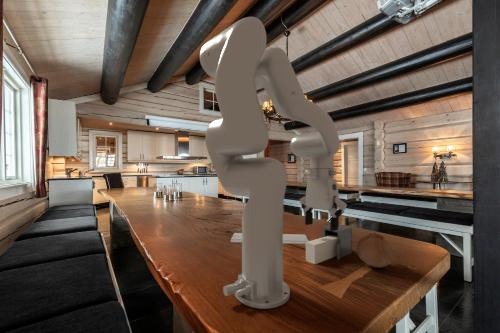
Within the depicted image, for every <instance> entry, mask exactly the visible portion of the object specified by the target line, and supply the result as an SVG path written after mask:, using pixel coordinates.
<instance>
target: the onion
mask: <svg viewBox="0 0 500 333" xmlns="http://www.w3.org/2000/svg"><path fill="white" fill-rule="evenodd" d="M356 253H357V255H358V257H359V259H360V261H363V263H365V264H366V265H368V266H369V267H371V268H376V269H377V268H379V269H382V268H383V267H385V268H386V267H387V266H388V265H389V264H390V263H391V262H392V261H393V257H394V251H393V247H392V245H391V243H390V242H389V241H388V240H387V239H386V238H385V236H383V235H380V234H379V233H376V232H372V233H369V234H367V235H365V236H363V237H361V238H360V239H359V240H358V242H357V245H356Z"/></svg>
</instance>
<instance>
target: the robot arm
mask: <svg viewBox="0 0 500 333" xmlns="http://www.w3.org/2000/svg"><path fill="white" fill-rule="evenodd" d="M266 47H267V31H266V29H265V25H264V24H263V22H262V21H261V19H259V18H258V17H254V16H247V17H243V18H241V19H239V20H237V21H235V22H234V23H232V24H231V25H229V26H228V27H227V28H225V29H224V30H222V31H221V32H220V33H218V34H217V35H215V36H213V37H212V38H211V39H209V40H208V41H206V42H205V44H203V45H202V47H201V48H200V52H199V62H200V65H201V67H202V70H204V72H205V73H206V74H207V75H208V76H209V77H211V78H212V79H214V90H215V91H214V92H215V97H216V101H217V103H218V104H217V105H218V107H219V112H220V115H221V117H220V118H217V119H214V120H213V121H211V123H210V124H209V125H208V127H207V128H206V131H205V137H204V138H205V146H206V149H207V152H208V155H209V158H210V160H211V161H210V162H211V163H212V166H213V168H214V172H215V173H216V176H217V178H218V181H219V184H220V186H221V187H222V188H223V190H224V191H225V192H227V193H228V194H230V195H232V196H238V197H247V198H248V200H247V202H246V204H245V206H244V208H243V211H242V216H241V233H242V243H241V273H240V274H238V275H237V280H235V281H234V283H230V284H227V285H224V286H223V287H222V292H223V295H224V296H226V297H229V296H230V295H233V294H234V296H235V298H236V299H237V300H238V301H239V302H240V303H241V304H243V305H245V306H247V307H250V308H254V309H260V310H263V309H264V310H266V309H269V310H270V309H274V308H279V307H281V306H283V305H284V304H285V303H287V302H288V301H289V300H290V296H291V289H290V286H289V285H288V284H287V283H286V282H284V244H283V234H284V230H283V229H284V224H283V222H284V221H283V218H284V216H283V215H284V202H285V194H286V191H287V190H286V189H287V184H288V173H287V168H286V167H285V165H284V164H283V163H282V162H281V161H280V160H278V159H276V158H273V157H267V156H266V157H265V156H264V157H263V156H258V157H249V158H248V157H247V158H244V157H243V156H249V155H250V156H251V155H257V154H259V153H262V152H264V151H265V150H266V149H267V147H268V145H269V138H270V137H269V132H268V128H267V125H266V121H265V118H264V114H263V109H262V107H261V104H260V100H259V96H258V93H257V92H258V90H261V89H264V91H265V92H266V94H267V96H268V98H269V100H270V102H271V103H272V105H273V107H274V109H275V112H276V113H277V115H279V116H280V117H283V118H284V119H285V118H286V119H289V120H293V121H297V122H300V123H304V124H305V125H309V126H310V127H312V128H313V129H315V130H316V131H313V132H306V133H300V134H297V135H295V136H294V137H293V138H292V139H291V141H290V144H289V148H290V151H291V153H292V154H293V155H295V156H296V157H298V158H302V159H303V158H305V159H306V158H309V178H308V179H307V183H306V189H305V195H304V196H303V197H301V198H299V203H300V204H301V205H300V206H301V208H302V210H303V213H304V224H305V225H307V226H308V225H313V224H314V223H313V222H314V221H313V220H314V218H313V217H314V214H313V212H312V211H313V210H314V209H315V210H322V211H327V212H328V213H329V214H330V215H331V217H330V218H329V225H330V230H331V231H334V230H338V227H339V225H340V222H339V221H340V220H339V219H340V217H341V216H342V214H344V213H345V210H346V208H347V206H348V204H347V203H346V202H344V201H343V200H342V199H340V198H339V197H340V196H339V186H338V182H337V179H336V178H334V177H335V176H337V171H336V170H335V168H334V166H335V165H334V161H335V160H334V159H335V158H334V157H335V156H334V155H336V154H337V153H338V151H339V150H340V146H341V145H340V142H341V141H340V137H339V133H338V131H337V127H336V125H335V124H334V120H333V119H332V117H331V116H330V114H328V112H326V110H324V109H323V108H322V107H321V106H319V105H318V104H316V103H314V102H313V101H310V100H309V99H308V98H307V97H306V95H305V94H304V92H303V89H302V87H301V84H300V82H299V79H298V77H297V74H296V72H295V70H294V68H293V66H292V65H293V64H292V63H291V60H290V59H289V57H288V55H287V53H286V51H285V50H284V49H282V48H281V47H275V46H274V47H270V48H267V49H266Z"/></svg>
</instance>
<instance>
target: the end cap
mask: <svg viewBox="0 0 500 333" xmlns="http://www.w3.org/2000/svg"><path fill="white" fill-rule="evenodd" d="M321 227H322V234H321V235H322V237H326V236H330V235H334V236H338V242H337V256H336V261H337V260H338V261H340V260H341V258H344V257H346V256H349V255H352V254H353V227H352V226H346V225H341V224H339V227H338V230H334V231H331V230H330V224H328V225H324V226H321ZM319 238H320V237H316V239H319Z"/></svg>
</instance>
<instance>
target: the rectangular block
mask: <svg viewBox="0 0 500 333" xmlns="http://www.w3.org/2000/svg"><path fill="white" fill-rule="evenodd" d="M318 238H319V239H317V238H316V239H313V240H309V241H308V242H306V244H305V262H307V263H309V264H310V263H311V264H313V265H316V264H319V263H322V262H324V261H328V260H330V259H332V258H335V257H337V242H338V236H334V235H330V236H326V237H323V236H322V237H318Z"/></svg>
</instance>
